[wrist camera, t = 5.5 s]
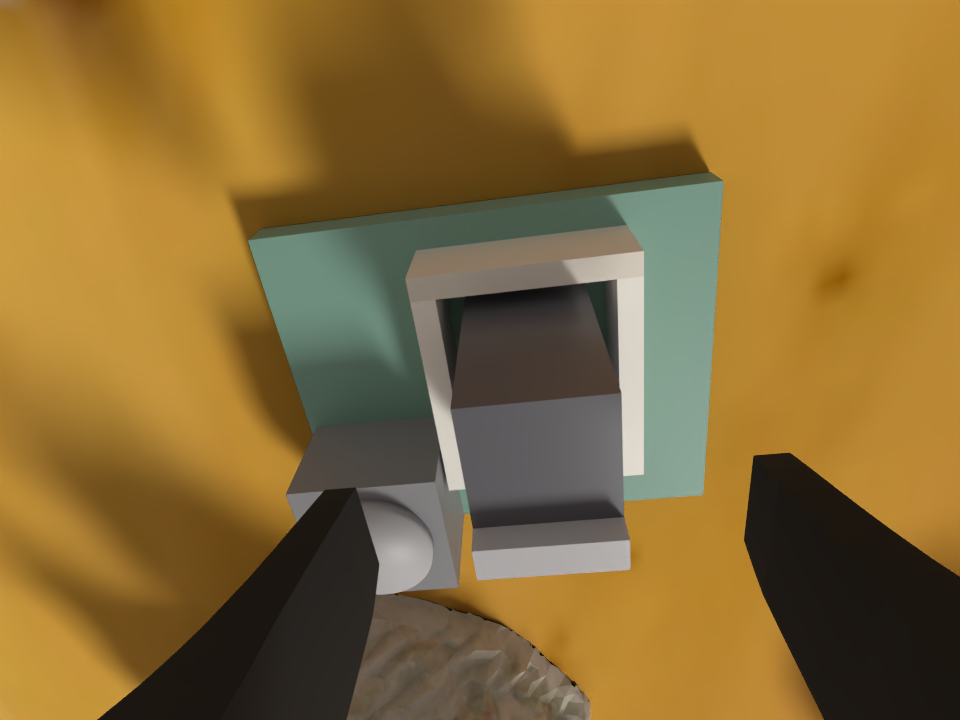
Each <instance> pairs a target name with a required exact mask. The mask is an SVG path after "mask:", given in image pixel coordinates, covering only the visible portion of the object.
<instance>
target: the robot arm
mask: <svg viewBox="0 0 960 720" xmlns="http://www.w3.org/2000/svg"><path fill="white" fill-rule="evenodd" d="M744 541H745V544H746V547H747V550H748V553H749V556H750V559H751V562H752V565H753V568H754V571H755V574H756V577H757V579H758V582H759V585H760V588H761V590H762V593H763V596H764V598H765V600H766V602H767V604H768V606H769V608H770V610H771V612H772V614H773V617H774V619H775V621H776V623H777V625H778V627H779V629H780V631H781V633H782V635H783V637H784V639H785V641H786V643H787V645H788V647H789V649H790V651H791V653H792V655H793V657H794V659H795V661H796V663H797V665H798V667H799V669H800V671H801V673H802V676H803V678H804V680H805V682H806V684H807V686H808V688H809V690H810V692H811V694H812V696H813V698H814V700H815V702H816V704H817V706H818V708H819V710H820V712H821V714H822V716H823V718H824V720H960V577H959V576H958V575H956V574H955V573H953V572H952V571H950V570H949V569H947V568H946V567H944V566H943V565H941V564H940V563H938V562H936V561H935V560H933V559H932V558H930V557H929V556H928V555H926V554H925V553H923V552H922V551H920V550H919V549H918V548H916V547H915V546H913V545H912V544H910V543H909V542H908V541H906V540H905V539H903V538H902V537H901V536H899V535H898V534H896V533H895V532H894V531H892V530H891V529H890V528H888V527H887V526H885V525H884V524H883V523H881V522H880V521H879V520H877V519H876V518H875V517H873V516H872V515H871V514H869V513H868V512H867V511H865V510H864V509H863V508H861V507H860V506H859V505H857V504H856V503H855V502H853V501H852V500H851V499H849V498H848V497H847V496H846V495H844V494H843V493H842V492H840V491H839V490H838V489H836V488H835V487H834V486H833V485H831V484H830V483H829V482H827V481H826V480H825V479H824V478H822V477H821V476H820V475H818V474H817V473H816V472H815V471H813V470H812V469H811V468H809V467H808V466H807V465H806V464H804V463H803V462H802V461H800V460H799V459H798V458H796V457H795V456H794V455H792V454H791V453H781V454H768V455H756V456H754V457H753V466H752V475H751V483H750V492H749V501H748V510H747V519H746V527H745V536H744ZM378 573H379V561H378V558H377V554H376V551H375V548H374V545H373V541H372V538H371V535H370V531H369V528H368V525H367V522H366V518H365V515H364V512H363V509H362V505H361V502H360V499H359V496H358V492H357V489H356V487H353V488H341V489H328V490H324V491H323V492H322V494H321V495H320V496H319V497H318V498H317V499H316V500H315V502H314V503H313V504H312V505H311V506H310V507H309V509H308V510H307V511H306V512H305V513H304V514H303V516H302V517H301V518H300V519H299V520H298V522H297V523H296V524H295V525H294V526H293V528H292V529H291V530H290V531H289V532H288V533H287V535H286V536H285V537H284V538H283V539H282V541H281V542H280V543H279V544H278V545H277V546H276V548H275V549H274V550H273V551H272V552H271V553H270V554H269V556H268V557H267V558H266V559H265V560H264V561H263V562H262V564H261V565H260V566H259V567H258V568H257V569H256V570H255V572H254V573H253V574H252V575H251V576H250V577H249V578H248V580H247V581H246V582H245V583H244V584H243V585H242V586H241V587H240V588H239V589H238V590H237V591H236V592H235V593H234V594H233V595H232V596H231V598H230V599H229V600H228V601H227V602H226V603H225V604H224V605H223V606H222V607H221V608H220V609H219V610H218V611H217V612H216V613H215V614H214V615H213V617H212V618H211V619H210V620H209V621H208V622H207V623H206V624H205V625H204V626H203V627H202V628H201V629H200V630H199V631H198V632H197V633H196V634H195V635H194V636H193V637H192V638H191V639H189V640H188V641H187V642H186V643H185V644H184V645H183V646H182V647H181V648H180V649H179V650H178V651H177V652H176V653H175V654H174V655H172V656H171V657H170V658H169V659H168V660H167V661H166V662H165V663H164V664H163V665H161V666H160V667H159V668H158V669H157V670H156V671H155V672H154V673H153V674H152V675H150V676H149V677H148V678H147V679H146V680H145V681H144V682H142V683H141V684H140V685H139V686H138V687H137V688H135V689H134V690H133V691H132V692H131V693H129V694H128V695H127V696H126V697H124V698H123V699H122V700H121V701H120V702H118V703H117V704H116V705H115V706H113V707H112V708H111V709H110V710H109V711H107V712H106V713H105V714H104V715H103V716H101V717H100V718H99V719H98V720H347V716H348V712H349V709H350V705H351V701H352V697H353V693H354V689H355V685H356V681H357V678H358V674H359V670H360V666H361V662H362V658H363V654H364V650H365V646H366V642H367V638H368V634H369V630H370V626H371V622H372V618H373V611H374V604H375V597H376V590H377V581H378Z"/></svg>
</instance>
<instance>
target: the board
mask: <svg viewBox="0 0 960 720" xmlns="http://www.w3.org/2000/svg"><path fill="white" fill-rule="evenodd" d="M722 195H723V180H722V179H720V178H719V177H717V176H716V175H714V174H713V173H711V172H707V173H699V174H691V175H683V176H675V177H667V178H659V179H652V180H644V181H636V182H628V183H620V184H612V185H604V186H596V187H589V188H581V189H573V190H565V191H557V192H549V193H541V194H533V195H526V196H518V197H510V198H502V199H494V200H486V201H478V202H470V203H463V204H455V205H447V206H439V207H431V208H423V209H415V210H407V211H400V212H392V213H384V214H376V215H368V216H360V217H352V218H344V219H336V220H329V221H321V222H313V223H305V224H297V225H289V226H281V227H273V228H266V229H261V230H260V231H258V232H257V233H256V234H255V235H254V236H252V237H251V238H250V239H249V240H248V243H249V246H250V249H251V252H252V255H253V258H254V261H255V264H256V267H257V270H258V273H259V276H260V279H261V282H262V285H263V288H264V291H265V294H266V297H267V300H268V303H269V306H270V309H271V312H272V315H273V318H274V321H275V324H276V327H277V330H278V333H279V336H280V339H281V342H282V345H283V348H284V351H285V354H286V357H287V360H288V363H289V366H290V369H291V372H292V375H293V378H294V381H295V384H296V387H297V390H298V393H299V396H300V399H301V402H302V405H303V408H304V411H305V414H306V417H307V420H308V423H309V426H310V429H311V432H312V435H313V436H312V439H311V441H310V443H309V445H308V447H307V449H306V452H305V454H304V456H303V458H302V460H301V463H300V465H299V467H298V469H297V471H296V473H295V476H294V478H293V480H292V482H291V484H290V486H289V489H288V491H287V493H286V496H287V499H288V502H289V504H290V507H291V509H292V512H293V515H294V517H295V520H296V522H298V520H299V519H300V518H301V517H302V516H303V514H304V513H305V512H306V511H307V510H308V509H309V507H310V506H311V505H312V504H313V503H314V502H315V500H316V499H317V498H318V497H319V496H320V495H321V494H322V492H323V491H324V490H328V489H341V488H353V487H356V489H357V492H358V496H359V499H360V502H361V505H362V509H363V512H364V515H365V518H366V522H367V525H368V528H369V531H370V535H371V538H372V541H373V545H374V548H375V551H376V554H377V558H378V561H379V573H378V581H377V590H376V594H377V595H384V594H394V593H398V592H403V591H418V590H433V589H447V588H458V587H459V573H460V560H461V547H462V533H463V520H464V514H467V513H470V510H469V505H468V500H467V494H466V489H465V484H464V479H463V473H462V468H461V463H460V458H459V452H458V447H457V442H456V437H455V431H454V426H453V421H452V415H451V410H450V408H451V401H452V393H453V385H454V378H455V370H456V362H457V355H458V347H459V340H460V332H461V324H462V317H463V309H464V301H465V296H474V295H482V294H491V293H500V292H509V291H518V290H527V289H536V288H545V287H554V286H562V285H571V284H580V283H585V285H586V288H587V291H588V294H589V297H590V300H591V303H592V306H593V309H594V312H595V315H596V318H597V321H598V324H599V327H600V330H601V333H602V336H603V339H604V342H605V345H606V348H607V351H608V354H609V357H610V360H611V363H612V366H613V369H614V372H615V375H616V378H617V381H618V384H619V387H620V390H621V393H622V440H623V488H624V501H632V500H645V499H658V498H670V497H683V496H696V495H703V489H704V474H705V458H706V443H707V427H708V412H709V396H710V381H711V365H712V350H713V334H714V319H715V303H716V288H717V272H718V257H719V241H720V226H721V210H722Z"/></svg>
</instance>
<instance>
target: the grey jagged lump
mask: <svg viewBox="0 0 960 720" xmlns="http://www.w3.org/2000/svg"><path fill="white" fill-rule="evenodd" d="M590 706H591V705H590V701H589V702H588V698H587V696H586V695H585V693H584V692H580V689H579V687H578V686H577V685H576V686H575V687H574V686H572V685H571V682H570V680H569V679H568V678H567V677H566V676H565V674H564V673H562V672H561V671H560V670H559V669H558V668H557V667H556V666H553V665H551V664H550V662H549V661H548V660H547V659H545V657H544V656H540V653H539V650H538V649H537V648H536V647H535V648H532V644H531V647H530V643H529V641H528V640H526V639H524V638H523V637H521V636H517V634H516V633H515V632H514V631H510V630H509V628H508V627H507V628H505V627H504V626H502V625H500V624H497V623H494V622H491V621H488V620H486V621H484V620H483V618H482V617H479V616H475V615H473V614H472V613H467V614H465V613H461V612H458V611H455V610H454V609H453V610H452V611H451V612H450V611H449V610H448V609H447V608H446V607H444V606H442V605H440V604H434V603H432V602H429V601H425V600H421V599H419V598H413V597H408V596H404V595H398V596H397V595H395V594H393V595H386V594H384V595H377V594H376V597H375V604H374V611H373V618H372V622H371V626H370V630H369V634H368V638H367V642H366V646H365V650H364V654H363V658H362V662H361V666H360V670H359V674H358V678H357V681H356V685H355V689H354V693H353V697H352V701H351V705H350V709H349V712H348V716H347V720H590Z"/></svg>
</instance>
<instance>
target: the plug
mask: <svg viewBox="0 0 960 720" xmlns="http://www.w3.org/2000/svg"><path fill="white" fill-rule="evenodd" d="M450 410H451V415H452V421H453V426H454V431H455V437H456V442H457V447H458V452H459V458H460V463H461V468H462V473H463V479H464V484H465V489H466V494H467V500H468V505H469V510H470V515H471V521H472V526H473V538H472V556H473V561H474V566H475V571H476V576H477V580H488V579H503V578H517V577H532V576H547V575H561V574H576V573H591V572H605V571H620V570H630V538H629V534H628V530H627V526H626V523H625V519H624V488H623V440H622V393H621V390H620V387H619V384H618V381H617V378H616V375H615V372H614V369H613V366H612V363H611V360H610V357H609V354H608V351H607V348H606V345H605V342H604V339H603V336H602V333H601V330H600V327H599V324H598V321H597V318H596V315H595V312H594V309H593V306H592V303H591V300H590V297H589V294H588V291H587V288H586V285H585V283H580V284H571V285H562V286H554V287H545V288H536V289H527V290H518V291H509V292H500V293H491V294H482V295H474V296H465V301H464V309H463V317H462V324H461V332H460V340H459V347H458V355H457V362H456V370H455V378H454V385H453V393H452V401H451V408H450Z"/></svg>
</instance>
